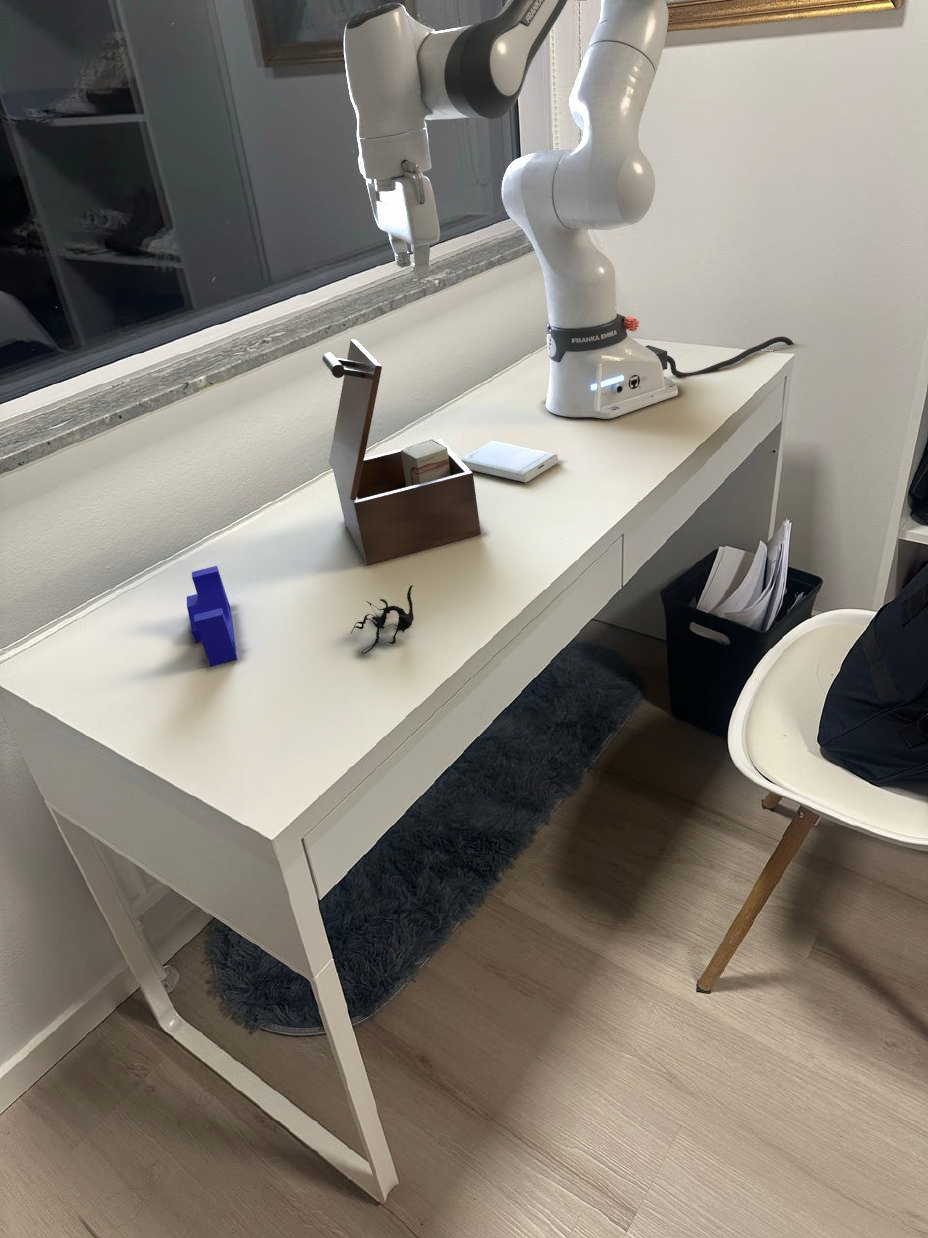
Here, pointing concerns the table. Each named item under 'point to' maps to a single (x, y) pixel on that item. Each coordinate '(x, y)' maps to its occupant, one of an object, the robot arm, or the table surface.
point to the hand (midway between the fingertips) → (413, 271)
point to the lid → (353, 413)
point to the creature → (403, 620)
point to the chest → (408, 508)
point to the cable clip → (212, 617)
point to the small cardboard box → (425, 462)
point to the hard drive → (509, 461)
